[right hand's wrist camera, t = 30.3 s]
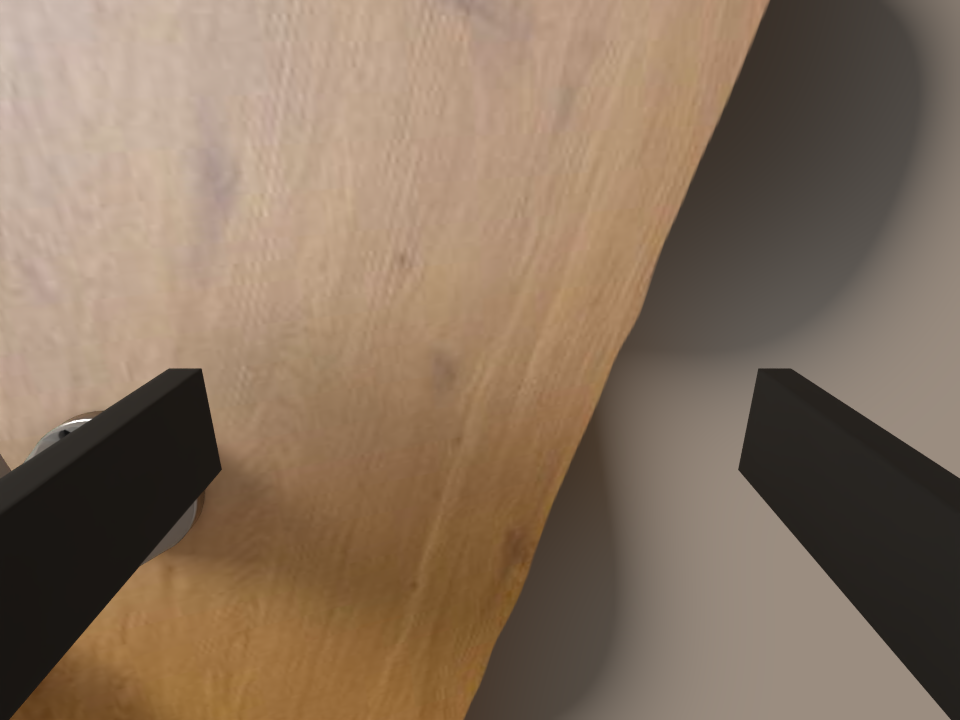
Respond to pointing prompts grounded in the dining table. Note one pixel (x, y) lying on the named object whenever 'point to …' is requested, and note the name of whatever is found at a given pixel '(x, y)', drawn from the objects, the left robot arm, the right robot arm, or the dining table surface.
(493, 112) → the dining table surface
